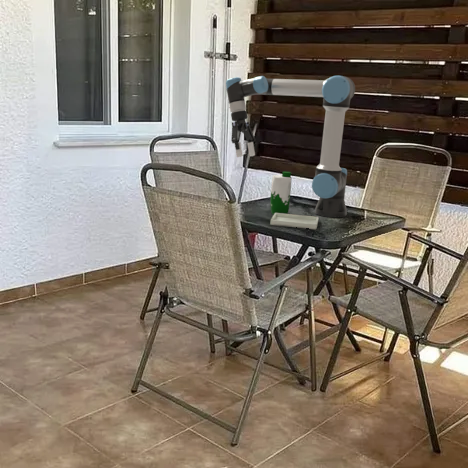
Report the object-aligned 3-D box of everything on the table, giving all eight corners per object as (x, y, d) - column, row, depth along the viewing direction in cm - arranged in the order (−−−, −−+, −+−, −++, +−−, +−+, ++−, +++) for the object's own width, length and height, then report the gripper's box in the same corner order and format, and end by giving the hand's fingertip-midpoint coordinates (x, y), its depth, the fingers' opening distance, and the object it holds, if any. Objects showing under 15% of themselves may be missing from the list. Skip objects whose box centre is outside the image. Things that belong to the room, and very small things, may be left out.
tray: (318, 221, 279) (318, 216, 278) (316, 229, 263) (316, 224, 263) (274, 217, 282) (275, 212, 281) (270, 224, 266) (270, 220, 266)
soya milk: (289, 216, 286) (293, 173, 281) (270, 215, 286) (273, 173, 281) (286, 212, 295) (290, 171, 290) (268, 211, 294) (271, 170, 289)
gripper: (243, 114, 300) (250, 156, 302) (219, 112, 278) (227, 158, 280) (256, 110, 297) (264, 154, 298) (233, 108, 275) (241, 155, 276)
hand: (246, 156), depth 289 cm, fingers open, 13 cm apart
